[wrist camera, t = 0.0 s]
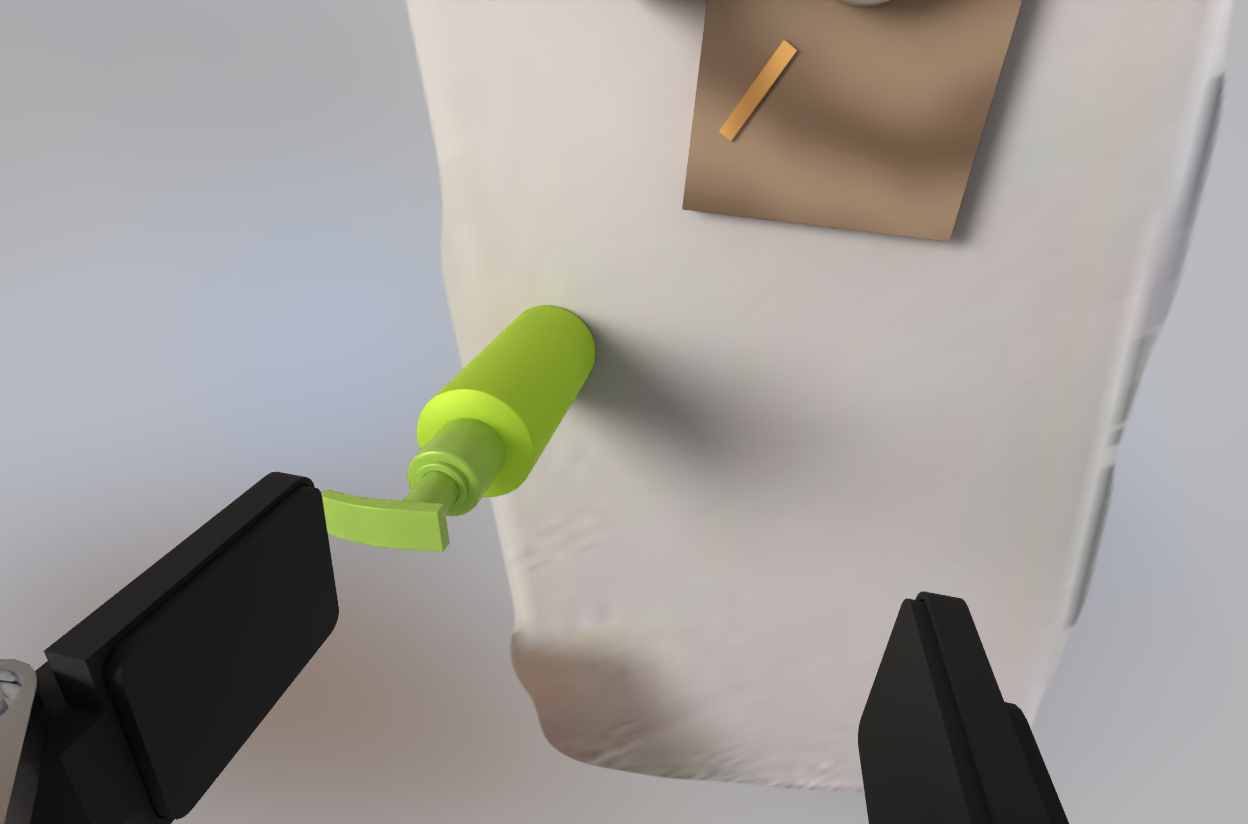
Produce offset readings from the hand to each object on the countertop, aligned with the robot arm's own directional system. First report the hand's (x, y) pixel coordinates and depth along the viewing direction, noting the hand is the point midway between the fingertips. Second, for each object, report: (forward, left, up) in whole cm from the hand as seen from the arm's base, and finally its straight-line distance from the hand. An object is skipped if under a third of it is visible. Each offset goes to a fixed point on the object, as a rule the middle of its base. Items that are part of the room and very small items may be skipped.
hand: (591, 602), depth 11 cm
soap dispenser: (+9, -10, -31) cm, 34 cm away
